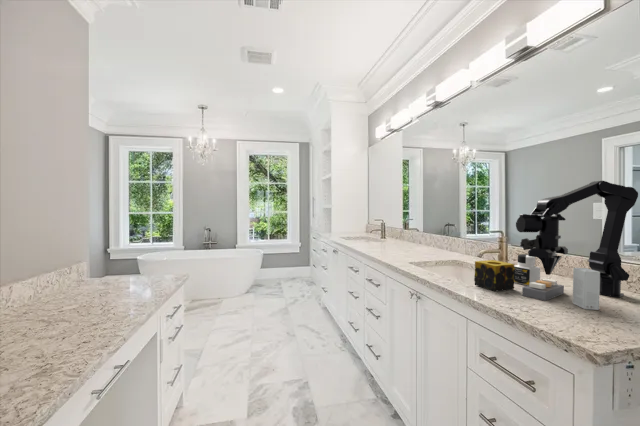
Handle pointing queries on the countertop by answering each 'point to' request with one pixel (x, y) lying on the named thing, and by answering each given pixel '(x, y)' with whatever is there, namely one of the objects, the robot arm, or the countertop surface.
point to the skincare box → (586, 288)
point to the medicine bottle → (526, 270)
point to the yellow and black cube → (494, 275)
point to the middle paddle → (548, 284)
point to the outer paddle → (537, 285)
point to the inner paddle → (550, 281)
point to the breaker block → (543, 292)
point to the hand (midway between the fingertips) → (548, 274)
